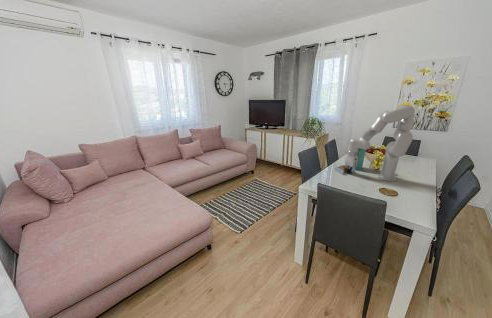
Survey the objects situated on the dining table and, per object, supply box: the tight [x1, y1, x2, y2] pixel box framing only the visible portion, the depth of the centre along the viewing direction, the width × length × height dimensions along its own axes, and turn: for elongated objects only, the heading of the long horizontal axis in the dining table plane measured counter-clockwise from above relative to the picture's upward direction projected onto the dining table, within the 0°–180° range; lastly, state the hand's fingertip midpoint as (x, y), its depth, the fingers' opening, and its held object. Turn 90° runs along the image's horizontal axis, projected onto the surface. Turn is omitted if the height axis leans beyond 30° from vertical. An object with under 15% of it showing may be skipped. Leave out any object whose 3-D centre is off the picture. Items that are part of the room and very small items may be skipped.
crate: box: [338, 164, 348, 174], centre depth 180 cm, size 6×6×5 cm
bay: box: [334, 166, 356, 175], centre depth 180 cm, size 13×10×4 cm
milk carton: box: [355, 148, 367, 171], centre depth 185 cm, size 9×9×25 cm
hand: (348, 172), depth 175 cm, fingers closed
